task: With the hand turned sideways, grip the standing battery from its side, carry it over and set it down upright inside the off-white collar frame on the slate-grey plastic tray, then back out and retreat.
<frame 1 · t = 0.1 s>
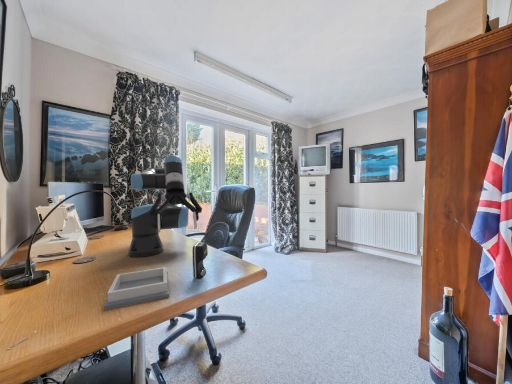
hand: (178, 229, 87), 15 cm above the table, tool tilted 35°, fingers open, 13 cm apart
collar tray: (141, 289, 69), on the table
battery: (201, 275, 79), on the table
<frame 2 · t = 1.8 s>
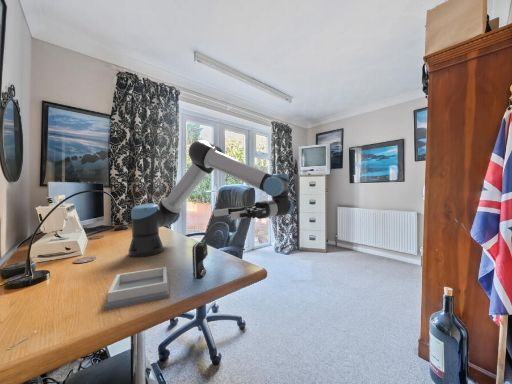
hand: (222, 214, 84), 21 cm above the table, tool horizontal, fingers open, 13 cm apart
nothing on the table moved.
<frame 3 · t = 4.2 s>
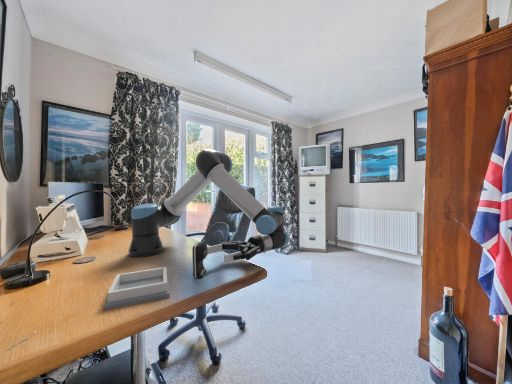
hand: (215, 254, 82), 6 cm above the table, tool horizontal, fingers open, 13 cm apart
nothing on the table moved.
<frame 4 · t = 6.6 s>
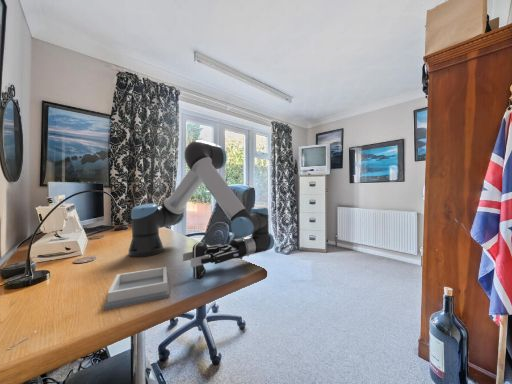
hand: (187, 260, 76), 7 cm above the table, tool horizontal, fingers closed on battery, 7 cm apart
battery: (201, 275, 79), on the table, touching gripper
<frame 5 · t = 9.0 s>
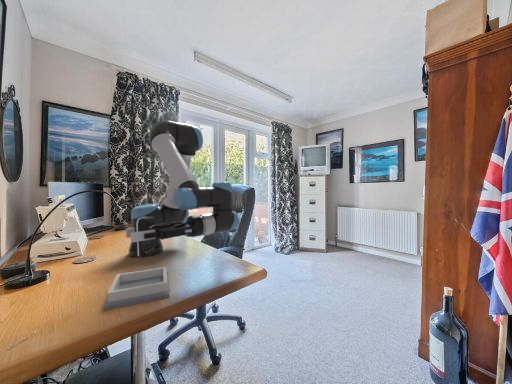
hand: (128, 235, 66), 18 cm above the table, tool horizontal, fingers closed on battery, 7 cm apart
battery: (147, 254, 69), point 11 cm above the table, touching gripper
when the fingers open (8 cm above the table, at t = 11.4 s): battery stays where it is, resting on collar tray.
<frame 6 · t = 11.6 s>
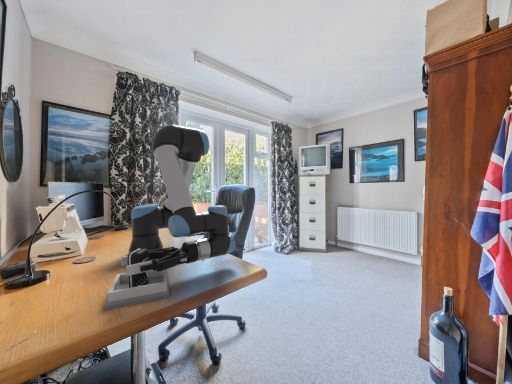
hand: (123, 265, 66), 8 cm above the table, tool horizontal, fingers open, 9 cm apart
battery: (141, 287, 69), point 1 cm above the table, touching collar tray
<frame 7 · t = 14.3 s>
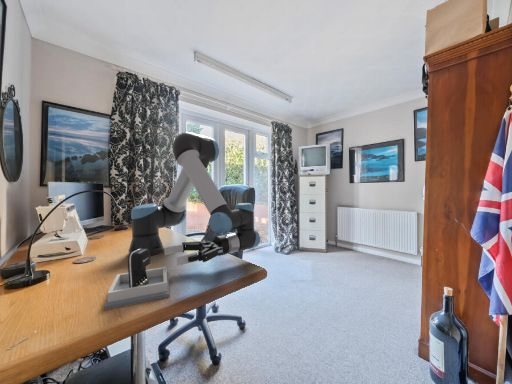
hand: (170, 255, 75), 9 cm above the table, tool horizontal, fingers open, 13 cm apart
nothing on the table moved.
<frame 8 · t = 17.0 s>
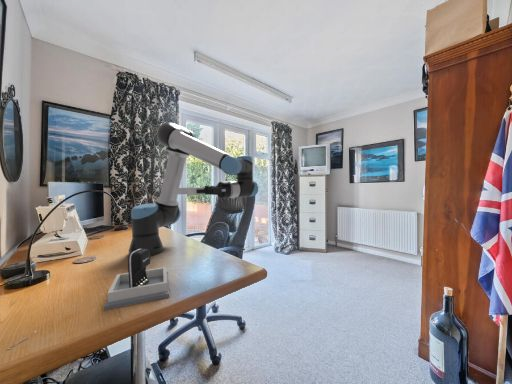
hand: (180, 191, 87), 30 cm above the table, tool horizontal, fingers open, 13 cm apart
nothing on the table moved.
at the end: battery inside the target area on the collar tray (0.3 cm from its centre), point 0.8 cm above the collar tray's base; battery tilted 0°; the gripper is holding nothing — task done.
